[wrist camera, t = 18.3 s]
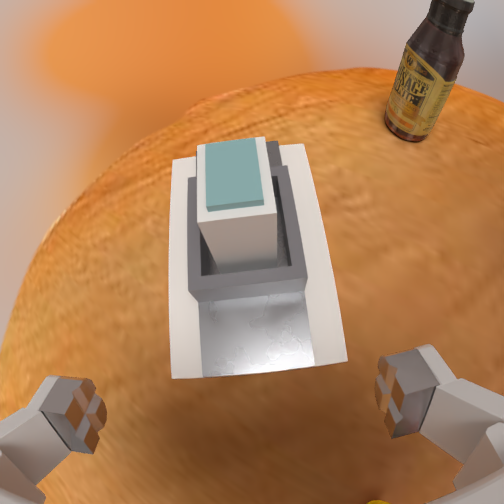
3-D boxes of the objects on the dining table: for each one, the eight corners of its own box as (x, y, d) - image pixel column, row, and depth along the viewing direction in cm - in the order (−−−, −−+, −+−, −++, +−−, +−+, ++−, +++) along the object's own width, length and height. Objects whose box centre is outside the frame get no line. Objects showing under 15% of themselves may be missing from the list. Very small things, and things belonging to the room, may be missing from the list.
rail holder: (303, 149, 33) (305, 116, 29) (345, 361, 24) (360, 356, 20) (175, 165, 34) (162, 134, 29) (175, 379, 25) (154, 376, 20)
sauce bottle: (374, 112, 35) (404, -30, 17) (412, 109, 36) (451, -19, 17) (399, 149, 33) (450, -3, 15) (438, 144, 33) (495, 10, 15)
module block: (268, 207, 29) (264, 130, 20) (277, 270, 26) (276, 207, 17) (218, 213, 29) (195, 139, 20) (222, 276, 26) (194, 217, 17)
